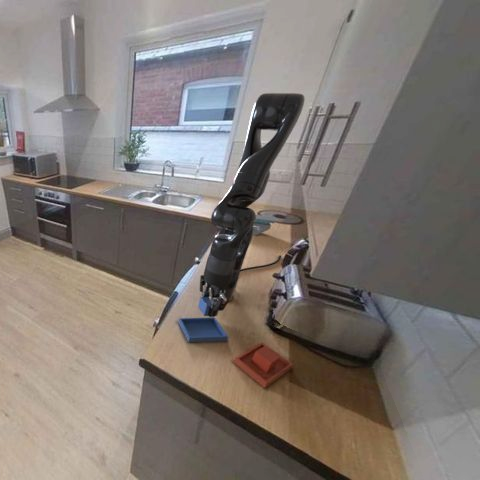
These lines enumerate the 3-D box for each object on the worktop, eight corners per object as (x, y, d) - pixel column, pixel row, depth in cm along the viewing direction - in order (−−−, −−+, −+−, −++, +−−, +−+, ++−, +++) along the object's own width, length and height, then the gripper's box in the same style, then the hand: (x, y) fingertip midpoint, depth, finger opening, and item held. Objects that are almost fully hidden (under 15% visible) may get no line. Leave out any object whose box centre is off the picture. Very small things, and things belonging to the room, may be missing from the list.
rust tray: (259, 346, 84) (261, 342, 83) (290, 369, 76) (293, 364, 75) (233, 362, 78) (235, 357, 78) (264, 388, 71) (266, 383, 70)
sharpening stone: (267, 232, 165) (272, 216, 160) (269, 237, 158) (274, 221, 154) (224, 226, 175) (227, 211, 170) (224, 230, 168) (228, 215, 164)
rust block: (259, 356, 80) (264, 346, 78) (275, 367, 76) (280, 357, 74) (251, 361, 78) (255, 351, 76) (266, 373, 74) (271, 363, 72)
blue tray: (213, 321, 94) (214, 317, 93) (226, 341, 86) (228, 336, 85) (178, 322, 94) (179, 318, 93) (188, 342, 86) (189, 337, 85)
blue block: (210, 306, 88) (213, 296, 86) (217, 315, 84) (220, 305, 82) (197, 307, 88) (200, 296, 86) (203, 316, 84) (206, 305, 82)
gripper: (245, 280, 72) (230, 326, 79) (219, 256, 85) (208, 297, 92) (219, 281, 72) (206, 326, 79) (196, 256, 85) (187, 297, 92)
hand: (207, 310), depth 86 cm, fingers closed on blue block, 4 cm apart
